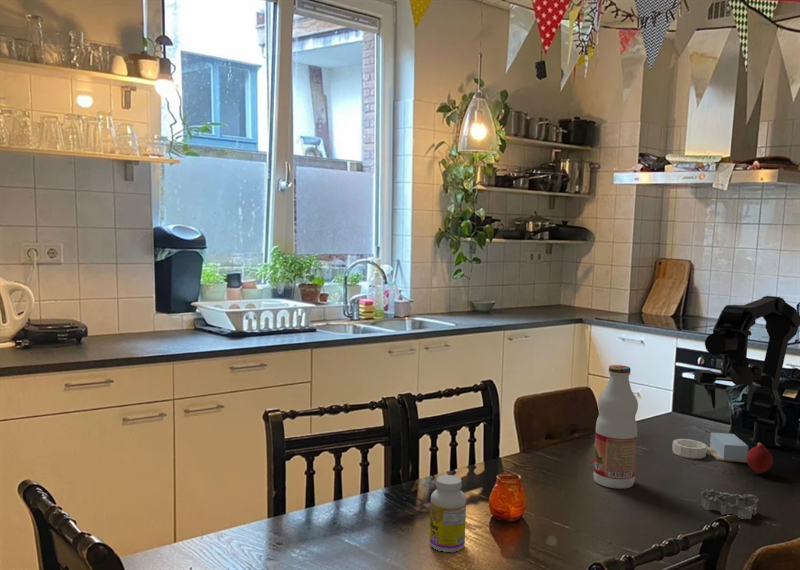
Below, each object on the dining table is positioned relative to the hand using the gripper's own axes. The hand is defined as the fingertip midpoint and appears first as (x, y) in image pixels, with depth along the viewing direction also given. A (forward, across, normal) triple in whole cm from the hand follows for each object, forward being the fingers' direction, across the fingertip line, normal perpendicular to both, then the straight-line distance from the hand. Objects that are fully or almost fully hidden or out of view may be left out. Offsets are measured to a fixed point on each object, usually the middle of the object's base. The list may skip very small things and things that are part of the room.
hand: (730, 409), depth 186 cm
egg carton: (+13, -14, -40) cm, 44 cm away
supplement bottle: (+13, -73, -67) cm, 100 cm away
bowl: (+13, -10, -1) cm, 16 cm away
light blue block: (+12, 0, 0) cm, 12 cm away
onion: (+13, +3, -14) cm, 19 cm away
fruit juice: (+13, -35, -27) cm, 46 cm away
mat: (+13, 0, 0) cm, 13 cm away
